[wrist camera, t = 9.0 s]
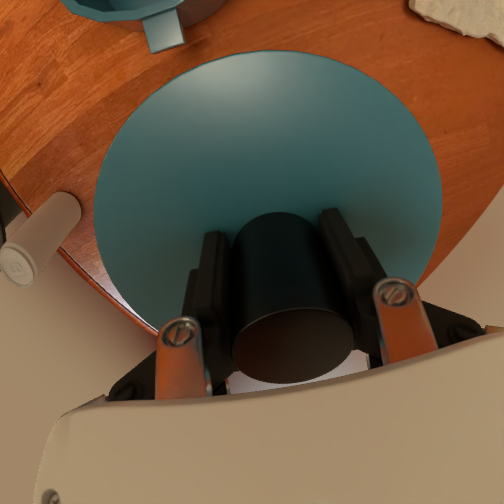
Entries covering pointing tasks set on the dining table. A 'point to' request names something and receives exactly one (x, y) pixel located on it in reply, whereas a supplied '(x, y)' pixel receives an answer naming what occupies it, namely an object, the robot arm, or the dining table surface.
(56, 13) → the dining table surface
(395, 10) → the dining table surface
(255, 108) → the pot lid
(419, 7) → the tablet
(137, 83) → the dining table surface
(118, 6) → the enamel pot
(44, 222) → the beverage can
